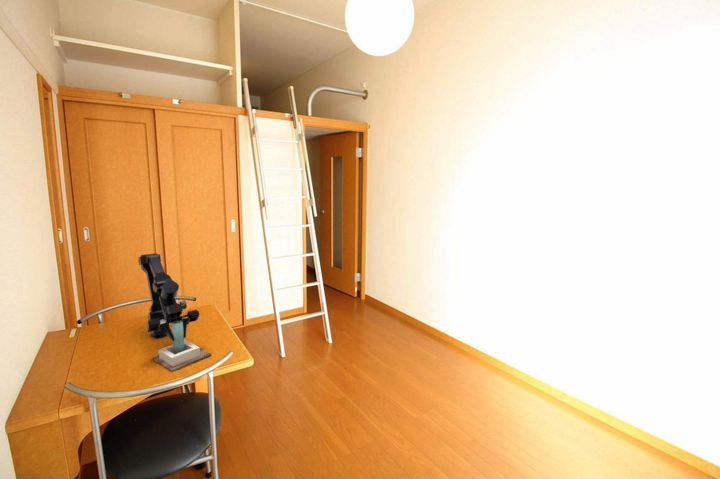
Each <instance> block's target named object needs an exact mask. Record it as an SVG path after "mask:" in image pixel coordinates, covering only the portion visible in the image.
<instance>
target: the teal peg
mask: <svg viewBox="0 0 720 479" xmlns="http://www.w3.org/2000/svg"><path fill="white" fill-rule="evenodd" d="M171 332H172V334H173V337H174V341H172V345H173V349H174V354H177V353H180V352H183V351H185V345H184V341H185V338H184V332H183V322H182V321H175V322H173V323H171Z"/></svg>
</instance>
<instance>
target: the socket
mask: <svg viewBox="0 0 720 479" xmlns="http://www.w3.org/2000/svg"><path fill="white" fill-rule="evenodd" d="M184 345H185V351H183V352H180V353H177V354H174V349H173V344H171V345H168V346H165V347H163V348H160V349H158V350H157V351H158V355H159V358H160V359H162V360H163V361H165V362H166V363H168V364H169V365H171V366H175V365H178V364H180V363H183V362H185V361H188V360H190V359H193V358H195V357H198V356H200V348H201V347H199V346H197V345H196V344H194V343H192V342H190V341H188V340H186V339H184Z"/></svg>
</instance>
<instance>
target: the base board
mask: <svg viewBox="0 0 720 479" xmlns="http://www.w3.org/2000/svg"><path fill="white" fill-rule="evenodd" d="M210 357H212V353H210V352H208V351H206V350H205V349H203V348H201V347H200V356H198V357H195V358H193V359H190V360H188V361H185V362H183V363H180V364H178V365H175V366H171V365H169V364H168V363H166V362H165V361H163V360H162V359H160V358H159V354H158V355H155V356H153V357H151V358H152V360H153V361H154V362H156V363H157V364H159V365H160V366H162V367H163V368H165V369H167V370H168V371H169V372H171V373H173V372H176V371H179V370H182V369H183V368H186V367H189V366H190V365H194V364H195V363H198V362H201V361H202V360H205V359H207V358H210Z"/></svg>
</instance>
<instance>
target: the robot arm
mask: <svg viewBox="0 0 720 479" xmlns="http://www.w3.org/2000/svg"><path fill="white" fill-rule="evenodd" d="M137 261H138V265H139V266H140V268H141V270H142V271H143V272H144V273H145V274H146V279H147V284H148V289H149V296H150V300H151V305H150V307H149V309H148V311H149V312H148V314H147V323H146V331H147V333H149V334H150V335H149V336H151V337H153V338H155V339H159V338H163V337H165V336H167V338H169V339H170V340H171V341H172V342H173V341H174V337H173V334H172V328H170V324H172V323H173V322H175V321H182V322H183V332H184V339H186V338H187V326H188V325H189V324H190V323H193V322H196V321H198V319H199V317H200V314H201V313H200V311H199V310H198V309H193V310H189V311H187V313H186V314H184V315H182V314H183V310H185V309H187V308H188V306H187V302H186V300H181V301H179V303H178V302H177V299H176V297H177V296H178V292H179V289H180V287H179V286H180V284H178V283H177V282H176V281H174V280H173V279H172V277H171V275H169V274H167V273H166V272H165V269H164V267H163V264H162V259H161V254H159V253H155V252H154V253H145V254H141V255H140V256H139V257H138V259H137Z"/></svg>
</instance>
